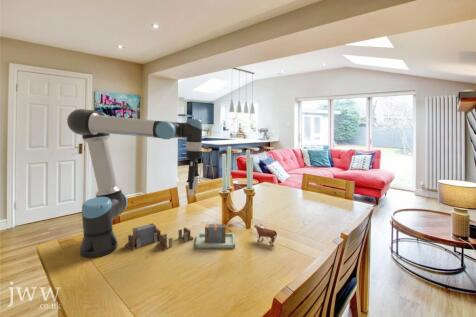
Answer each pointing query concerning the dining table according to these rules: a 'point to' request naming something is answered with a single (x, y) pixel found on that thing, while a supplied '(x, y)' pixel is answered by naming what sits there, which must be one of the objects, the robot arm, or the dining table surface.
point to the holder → (131, 240)
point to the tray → (228, 243)
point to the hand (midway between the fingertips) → (193, 191)
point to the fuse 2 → (215, 233)
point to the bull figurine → (265, 233)
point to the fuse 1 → (144, 234)
